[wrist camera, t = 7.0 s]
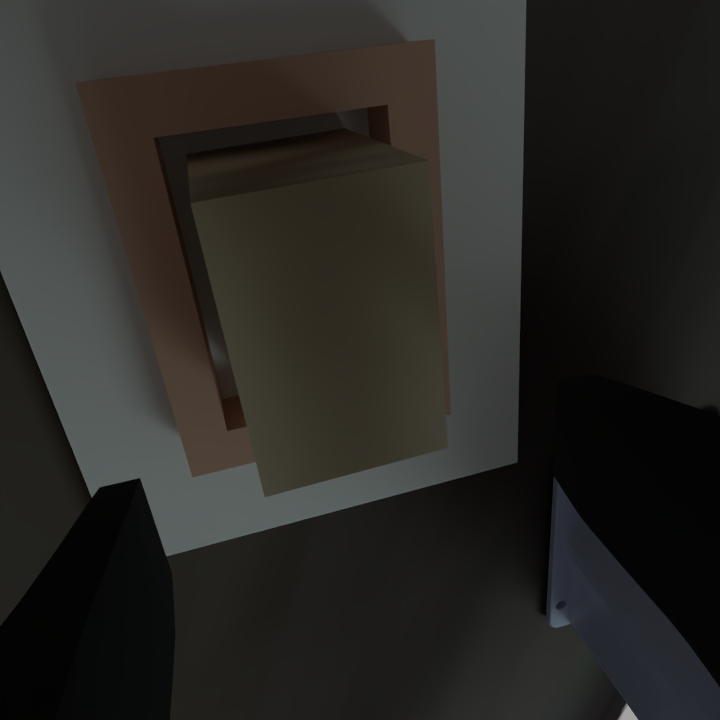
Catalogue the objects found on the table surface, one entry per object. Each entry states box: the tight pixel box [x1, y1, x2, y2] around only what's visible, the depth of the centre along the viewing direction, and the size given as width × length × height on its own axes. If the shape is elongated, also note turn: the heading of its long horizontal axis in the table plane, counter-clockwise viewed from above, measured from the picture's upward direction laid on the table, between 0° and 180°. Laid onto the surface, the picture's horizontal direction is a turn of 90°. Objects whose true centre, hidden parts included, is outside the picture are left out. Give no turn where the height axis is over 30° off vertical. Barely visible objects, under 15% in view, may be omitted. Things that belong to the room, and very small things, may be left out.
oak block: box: [186, 128, 448, 497], centre depth 14 cm, size 4×6×6 cm, turn 7°
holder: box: [0, 0, 526, 556], centre depth 16 cm, size 18×14×3 cm
